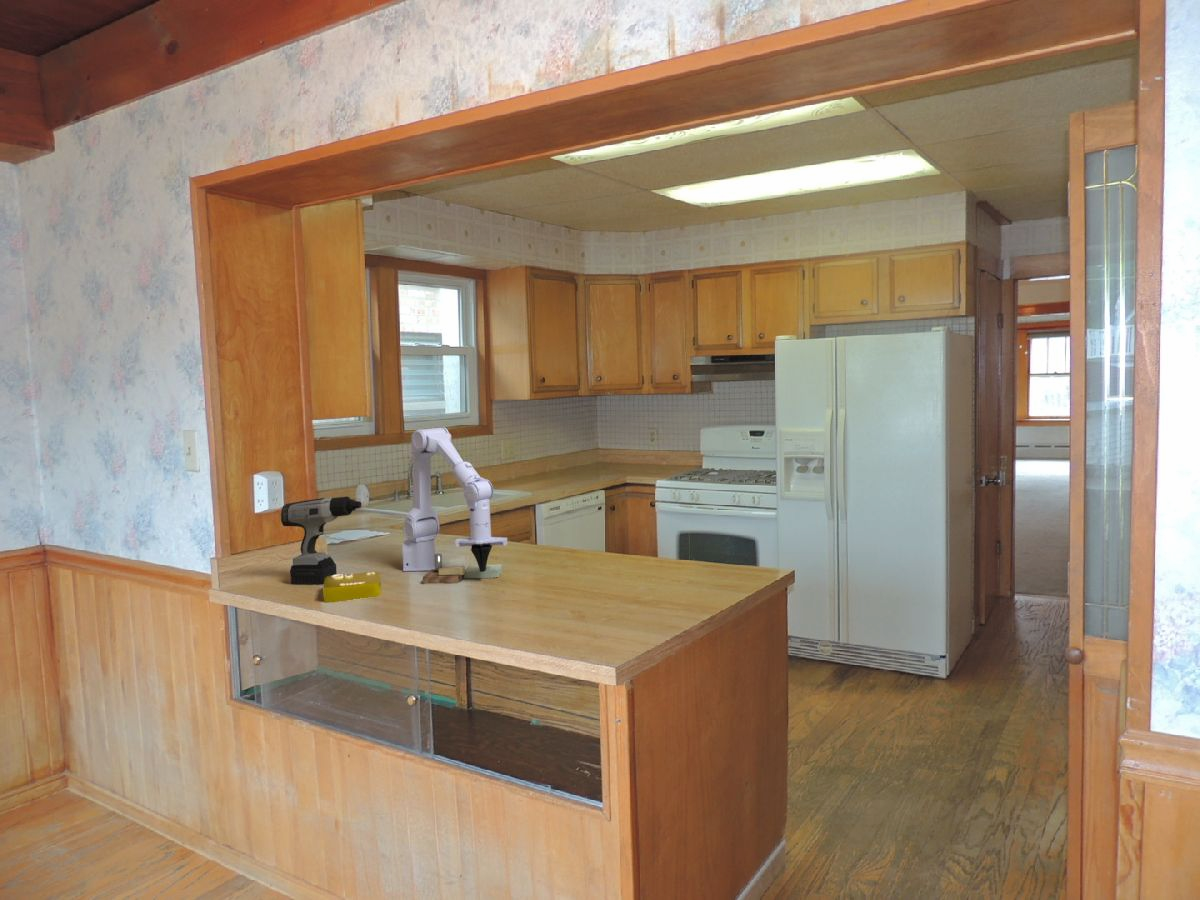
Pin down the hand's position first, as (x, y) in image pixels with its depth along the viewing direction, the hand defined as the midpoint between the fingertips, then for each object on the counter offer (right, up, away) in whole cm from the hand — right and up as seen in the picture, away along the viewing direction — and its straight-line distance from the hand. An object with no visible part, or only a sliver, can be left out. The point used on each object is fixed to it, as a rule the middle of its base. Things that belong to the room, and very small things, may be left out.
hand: (482, 570), depth 243 cm
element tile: (-34, -6, -7) cm, 36 cm away
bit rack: (-1, -2, +8) cm, 9 cm away
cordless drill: (-46, -4, +7) cm, 47 cm away
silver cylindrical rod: (-13, -3, +6) cm, 15 cm away
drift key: (-9, -1, +1) cm, 9 cm away
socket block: (-12, -3, +4) cm, 13 cm away
